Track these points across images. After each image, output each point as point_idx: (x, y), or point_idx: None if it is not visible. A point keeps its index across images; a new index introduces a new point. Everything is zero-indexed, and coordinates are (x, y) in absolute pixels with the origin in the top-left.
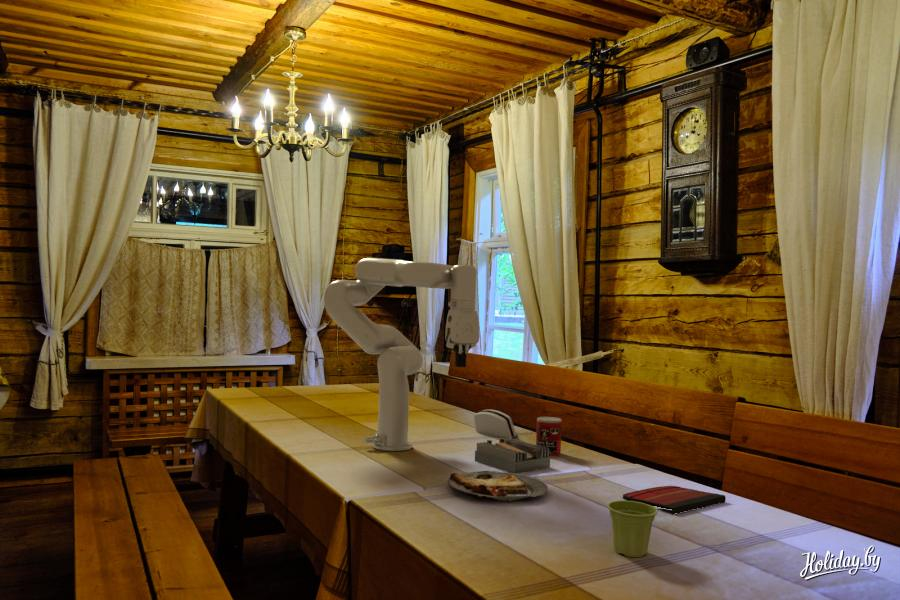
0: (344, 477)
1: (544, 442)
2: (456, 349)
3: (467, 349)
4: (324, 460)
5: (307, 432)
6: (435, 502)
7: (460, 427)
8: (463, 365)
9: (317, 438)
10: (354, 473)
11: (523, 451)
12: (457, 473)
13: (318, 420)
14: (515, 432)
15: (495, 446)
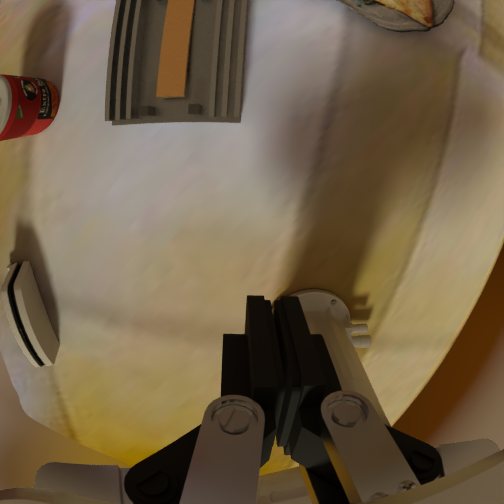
0: (500, 187)
1: (41, 88)
2: (400, 441)
3: (226, 446)
4: (456, 292)
5: None
6: (478, 7)
7: (73, 378)
8: (270, 309)
9: None
10: (483, 197)
11: (167, 16)
12: (426, 14)
13: (264, 474)
14: (10, 267)
15: (227, 53)
